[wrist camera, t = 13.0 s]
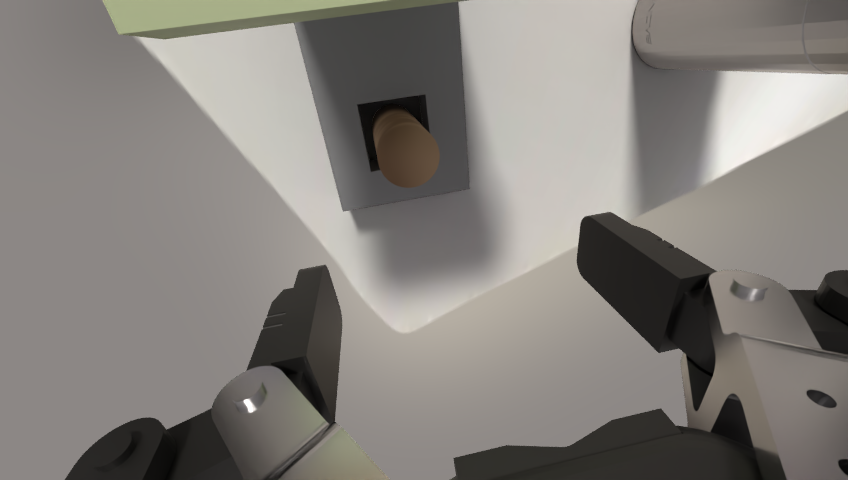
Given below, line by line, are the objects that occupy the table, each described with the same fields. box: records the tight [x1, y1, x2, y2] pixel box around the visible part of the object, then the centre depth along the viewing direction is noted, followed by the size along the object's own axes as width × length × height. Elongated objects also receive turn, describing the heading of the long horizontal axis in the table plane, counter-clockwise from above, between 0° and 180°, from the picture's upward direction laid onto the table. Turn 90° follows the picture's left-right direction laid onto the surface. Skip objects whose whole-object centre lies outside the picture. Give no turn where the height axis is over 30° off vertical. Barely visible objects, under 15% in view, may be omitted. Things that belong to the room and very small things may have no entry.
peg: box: [372, 104, 440, 188], centre depth 27 cm, size 4×4×12 cm
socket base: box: [103, 0, 470, 211], centre depth 20 cm, size 14×20×24 cm
